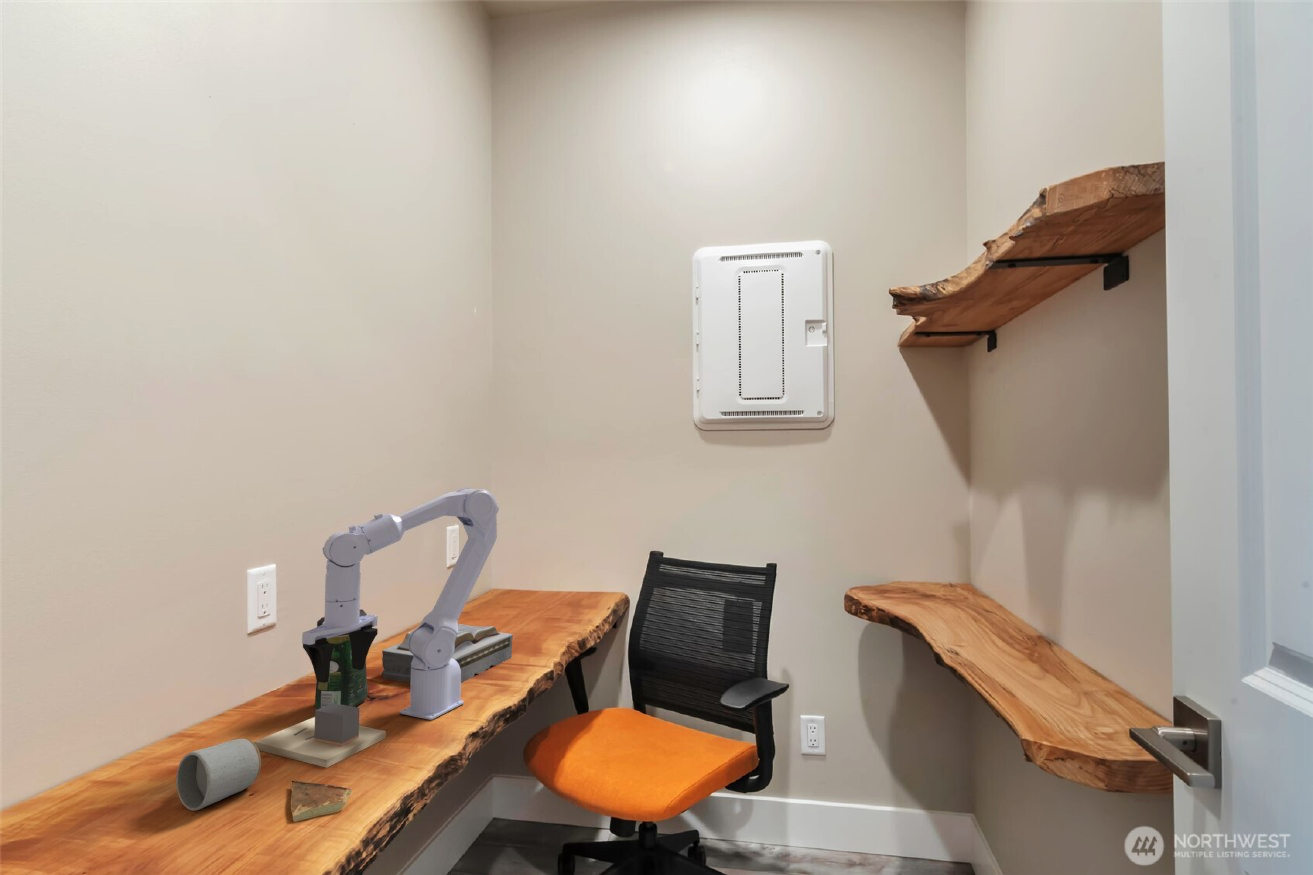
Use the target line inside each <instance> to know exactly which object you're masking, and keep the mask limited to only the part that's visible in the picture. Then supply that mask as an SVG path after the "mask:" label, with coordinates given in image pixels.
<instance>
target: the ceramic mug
mask: <svg viewBox="0 0 1313 875" xmlns="http://www.w3.org/2000/svg"><path fill="white" fill-rule="evenodd" d="M261 768H262V757H261V753H260V750H258V748H257V746H256V745H255V743H254V741H252V740H251V739H249V738H238V739H231V740H228V741H224V742H222V743H219V744H218V743H217V744H215V745H211V746H208V747H205V748H201V749H196V750H193V751H190V752H188V753H187V754H185V755H184V756H183V757H182V759H181V760H180V762H179V764H178V767H177V769H176V770H177V772H176V777H175V778H176V780H175V781H176V791H177V794H178V797H179V800H180V801H181V803H182V805H183V806H184V807H185V808H186V809H188V810H190V811H199V810H202V809H204V808H205V807H209V806H210V805H213V804H214V803H217V802H219V801H222V800H223V799H226V798H229V797H230V796H233V795H235V794H238V793H240V792H242V791H244V790H245V789H247V788H249V787H250V786H252V785H253V784H254V783H255V782H256V780H257V779H258V778H259V775H260V772H261Z"/></svg>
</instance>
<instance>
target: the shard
mask: <svg viewBox="0 0 1313 875" xmlns="http://www.w3.org/2000/svg"><path fill="white" fill-rule="evenodd" d="M290 786H291V787H290V788H291V794H290V811H291V813H292V814H291V815H292V820H293V822H294V823H295V822H299V821H304V820H308V819H311V818H314V817H315V818H316V817H319V816H323V815H329V814H334V813H340V811H342V810H343V808H344V807H345V805H346V803H347V799H348V798H349V797H350V796H351V794H352V788H350V787H349V788H347V787H344V786H337V785H332V784H326V783H325V784H324V783H315V782H304V781H296V780H291V782H290Z"/></svg>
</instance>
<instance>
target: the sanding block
mask: <svg viewBox="0 0 1313 875" xmlns="http://www.w3.org/2000/svg"><path fill="white" fill-rule="evenodd" d="M360 709H361V708H360V707H356V706H355V707H352V706H346V705H340V704H334V703H332V704H329V705H327V706H325V707H322V708H320V709H318V710H316V709H315V713H314V717H315V732H314V741H319V742H324V743H329V744H334V745H339V746H343V745H345V744H347V743H349V742H351V741H353V740H355V739H357V738H359V725H360Z"/></svg>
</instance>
